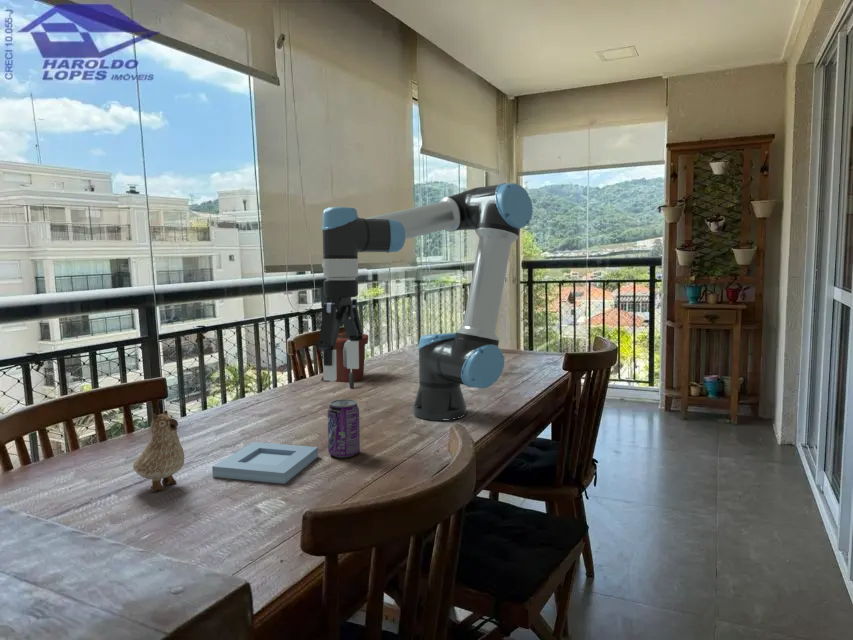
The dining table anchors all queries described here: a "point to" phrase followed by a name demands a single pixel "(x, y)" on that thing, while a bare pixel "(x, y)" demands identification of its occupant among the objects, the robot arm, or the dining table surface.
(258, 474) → the baseplate
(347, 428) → the beverage can
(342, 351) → the potted plant
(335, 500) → the dining table surface
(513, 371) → the dining table surface
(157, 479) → the figurine
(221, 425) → the dining table surface
